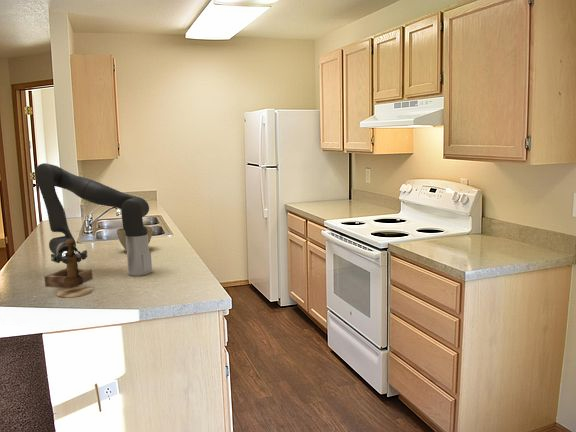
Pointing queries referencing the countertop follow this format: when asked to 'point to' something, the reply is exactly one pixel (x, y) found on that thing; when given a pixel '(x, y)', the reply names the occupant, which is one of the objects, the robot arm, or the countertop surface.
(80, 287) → the cork trivet
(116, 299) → the countertop surface
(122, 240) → the flower pot
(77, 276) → the mortar and pestle
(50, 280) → the walnut collar
